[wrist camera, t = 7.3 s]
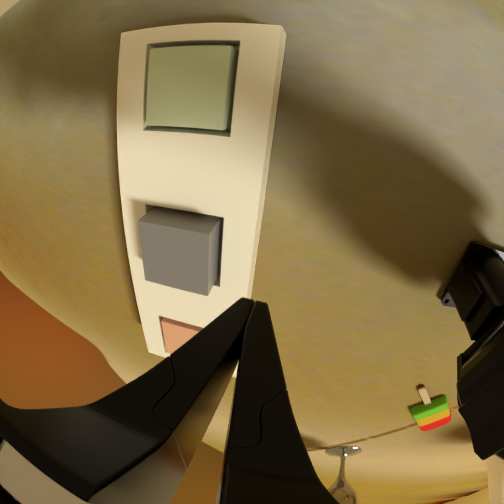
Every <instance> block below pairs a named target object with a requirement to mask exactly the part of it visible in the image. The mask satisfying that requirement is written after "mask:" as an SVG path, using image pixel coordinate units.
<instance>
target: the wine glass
mask: <svg viewBox="0 0 504 504" xmlns="http://www.w3.org/2000/svg"><path fill="white" fill-rule="evenodd" d="M361 451H362V450H361V448H359V447H354V446H340V447H334V448H330V449H328V450H326V452H325V453H326V454H327V455H330V456H335V457H340V458H341V465H340V471H339V475H338V477H337V479H336V481H335V482H334V483H333V484H332V485H331V486H330V487H329V488H328V489H327V490H328V491H329V492H330V493H331V494H332V495H333V496H334V498H335V499H336V500H337V501H338V502H339V503H340V504H360V502H359V496H358V493H357V492H356V490H355V489H354V488H353V487H352V486H351V485H350V484H349V483H348V481H347V480H346V477H345V458H346V457H347V456H352V455H356V454H358V453H360V452H361Z"/></svg>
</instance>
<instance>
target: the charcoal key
mask: <svg viewBox="0 0 504 504" xmlns="http://www.w3.org/2000/svg"><path fill="white" fill-rule="evenodd" d="M138 228H139V237H140V245H141V253H142V261H143V268H144V275H145V280H146V281H150V282H153V283H157V284H161V285H165V286H169V287H172V288H176V289H180V290H184V291H188V292H192V293H196V294H200V295H204V296H208V295H209V293H210V291H211V289H212V287H213V285H214V283H215V281H216V279H217V277H218V267H219V248H220V230H221V217H218V216H213V215H207V214H201V213H196V212H190V211H184V210H178V209H172V208H166V207H160V206H154V207H153V208H152V209H151V210H150V211H148V212H147V213H146V214H145V215H144V216H143V217H142V218H140V219H139V220H138Z"/></svg>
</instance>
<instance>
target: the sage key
mask: <svg viewBox="0 0 504 504" xmlns="http://www.w3.org/2000/svg"><path fill="white" fill-rule="evenodd" d="M238 57H239V49H237V48H235V47H233V46H178V47H164V48H153V49H150V55H149V67H148V82H147V105H146V125H147V126H173V127H189V128H202V129H213V130H225V129H227V128H229V127H231V124H232V114H233V104H234V94H235V84H236V75H237V66H238Z"/></svg>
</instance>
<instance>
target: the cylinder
mask: <svg viewBox="0 0 504 504" xmlns="http://www.w3.org/2000/svg"><path fill="white" fill-rule="evenodd" d="M486 463H487V472H488V485H489V504H504V460H502V459H501V458H499V457H497V456H496V455H492V456H491V457H489V458H487V459H486Z"/></svg>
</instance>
